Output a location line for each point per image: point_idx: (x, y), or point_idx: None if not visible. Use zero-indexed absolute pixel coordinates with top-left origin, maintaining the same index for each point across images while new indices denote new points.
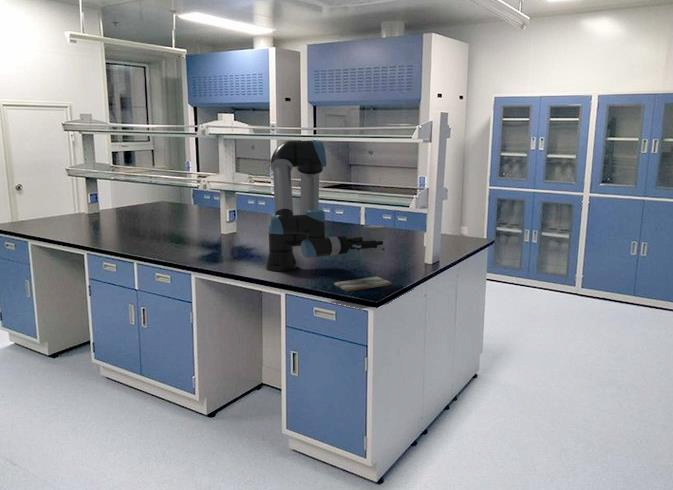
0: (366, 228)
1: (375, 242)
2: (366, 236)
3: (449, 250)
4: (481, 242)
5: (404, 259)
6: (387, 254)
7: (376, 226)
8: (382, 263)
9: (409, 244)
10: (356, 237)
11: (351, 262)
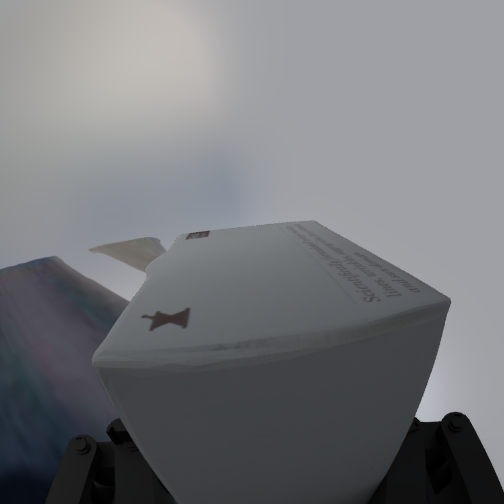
0: (286, 379)
1: (473, 432)
2: (296, 485)
3: (142, 266)
4: (151, 241)
5: (112, 322)
6: (60, 321)
7: (297, 241)
8: (87, 366)
9: (68, 279)
10: (54, 491)
11: (15, 401)
